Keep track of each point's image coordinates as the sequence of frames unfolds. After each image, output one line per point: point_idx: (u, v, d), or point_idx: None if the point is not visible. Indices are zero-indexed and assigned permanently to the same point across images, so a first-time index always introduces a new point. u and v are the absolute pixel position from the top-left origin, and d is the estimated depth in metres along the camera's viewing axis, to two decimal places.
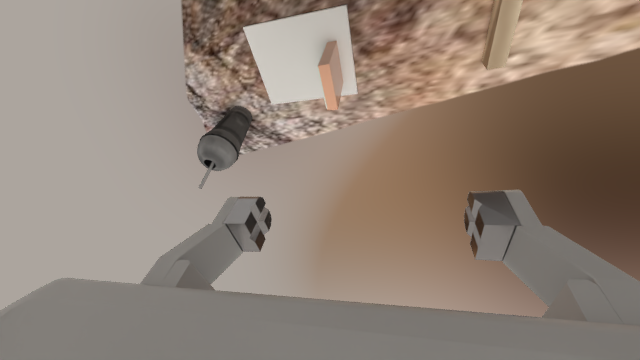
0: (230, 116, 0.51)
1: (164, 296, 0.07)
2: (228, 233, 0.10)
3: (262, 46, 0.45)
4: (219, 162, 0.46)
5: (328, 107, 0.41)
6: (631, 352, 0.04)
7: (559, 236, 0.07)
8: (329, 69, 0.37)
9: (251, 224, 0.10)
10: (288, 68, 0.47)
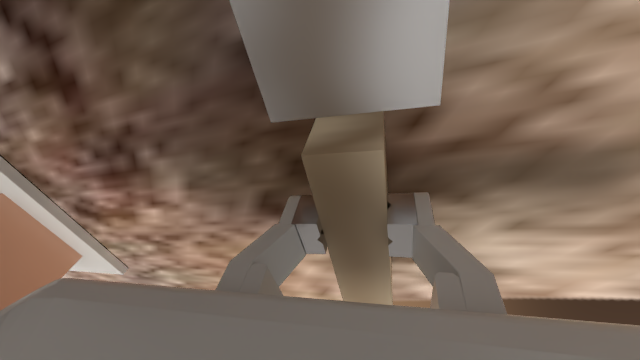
0: None
1: (164, 296, 0.07)
2: (296, 234, 0.10)
3: None
4: None
5: None
6: (631, 352, 0.04)
7: (444, 234, 0.08)
8: None
9: (320, 224, 0.10)
10: None
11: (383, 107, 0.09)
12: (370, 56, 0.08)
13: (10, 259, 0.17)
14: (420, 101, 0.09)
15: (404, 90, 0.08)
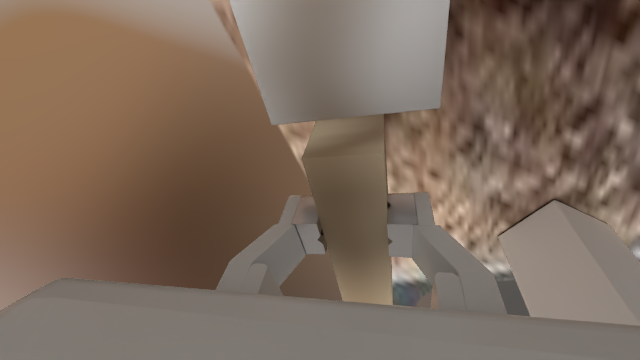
0: None
1: (164, 296, 0.07)
2: (296, 234, 0.10)
3: None
4: None
5: None
6: (631, 352, 0.04)
7: (444, 234, 0.08)
8: None
9: (320, 224, 0.10)
10: None
11: (383, 110, 0.09)
12: (370, 59, 0.08)
13: None
14: (420, 104, 0.09)
15: (404, 93, 0.09)
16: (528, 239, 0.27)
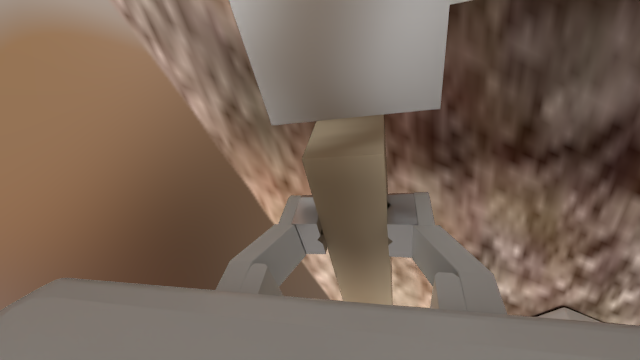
0: None
1: (164, 296, 0.07)
2: (296, 234, 0.10)
3: None
4: None
5: None
6: (631, 352, 0.04)
7: (444, 234, 0.08)
8: None
9: (320, 225, 0.10)
10: None
11: (383, 110, 0.09)
12: (370, 60, 0.08)
13: None
14: (420, 104, 0.09)
15: (404, 94, 0.09)
16: None
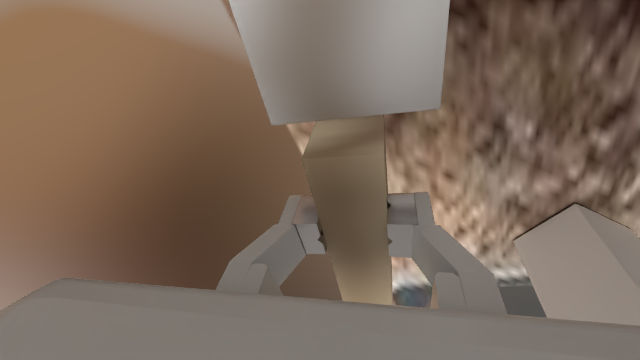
0: None
1: (164, 296, 0.07)
2: (296, 234, 0.10)
3: None
4: None
5: None
6: (631, 352, 0.04)
7: (444, 234, 0.08)
8: None
9: (320, 224, 0.10)
10: None
11: (383, 110, 0.09)
12: (370, 60, 0.08)
13: None
14: (420, 105, 0.09)
15: (404, 94, 0.09)
16: (546, 244, 0.26)
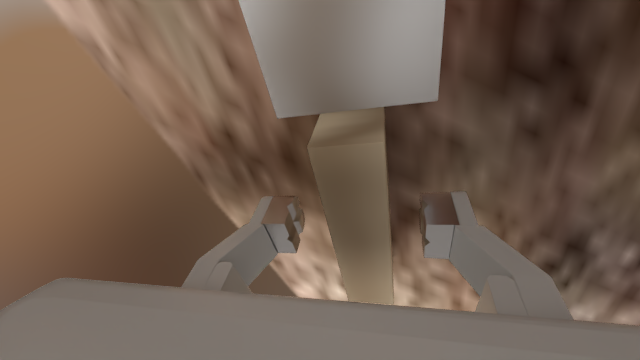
0: None
1: (164, 296, 0.07)
2: (265, 234, 0.10)
3: None
4: None
5: None
6: (631, 352, 0.04)
7: (491, 235, 0.07)
8: None
9: (289, 224, 0.10)
10: None
11: (384, 103, 0.09)
12: (371, 54, 0.09)
13: None
14: (419, 97, 0.09)
15: (403, 86, 0.09)
16: None
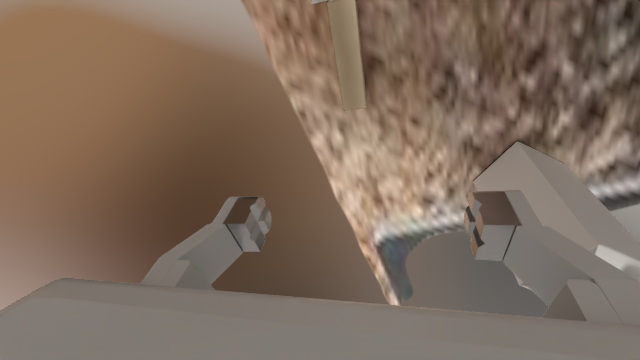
0: None
1: (164, 296, 0.07)
2: (228, 233, 0.10)
3: None
4: None
5: None
6: (631, 352, 0.04)
7: (559, 236, 0.07)
8: None
9: (251, 224, 0.10)
10: None
11: None
12: None
13: None
14: None
15: None
16: (496, 176, 0.32)
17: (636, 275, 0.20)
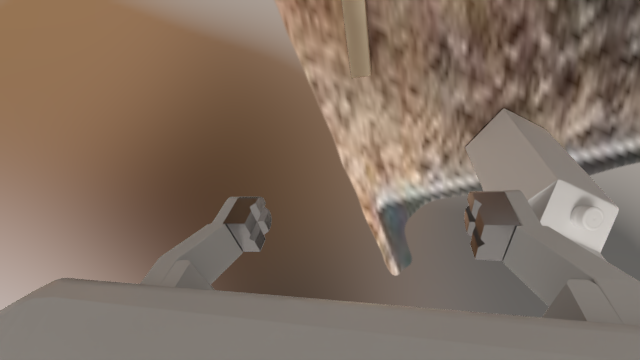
0: None
1: (164, 296, 0.07)
2: (228, 233, 0.10)
3: None
4: None
5: None
6: (631, 352, 0.04)
7: (559, 236, 0.07)
8: None
9: (251, 224, 0.10)
10: None
11: None
12: None
13: None
14: None
15: None
16: (484, 140, 0.36)
17: (590, 206, 0.24)
